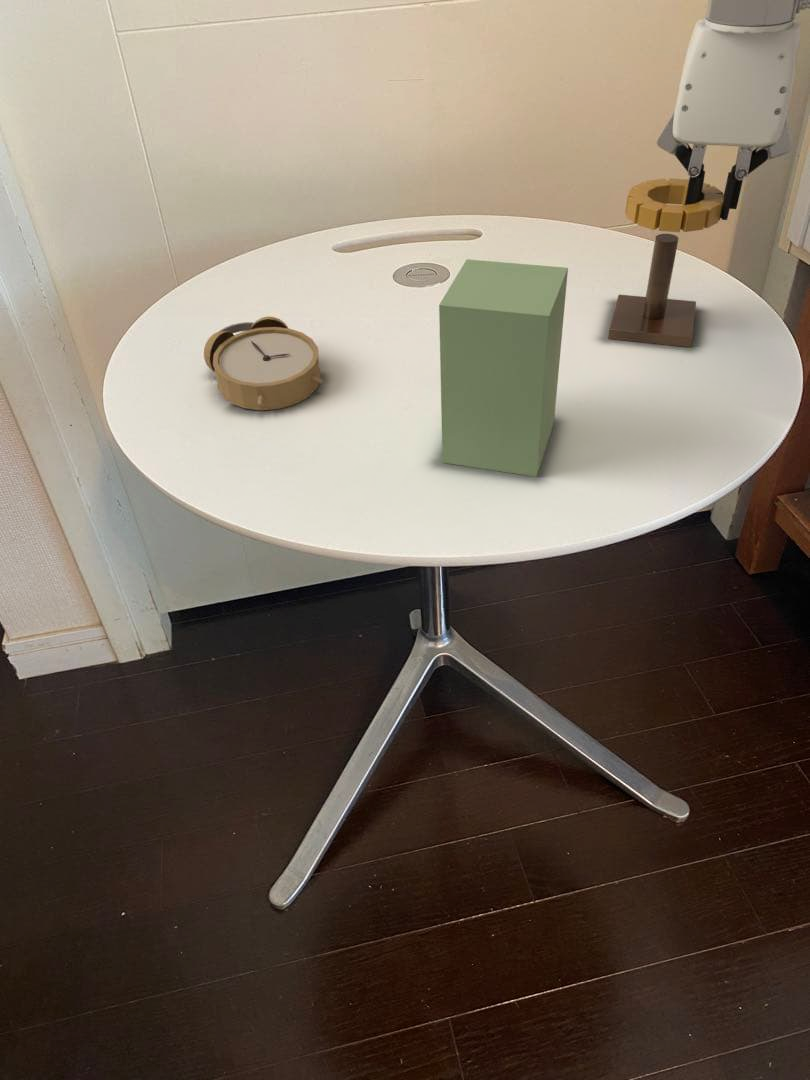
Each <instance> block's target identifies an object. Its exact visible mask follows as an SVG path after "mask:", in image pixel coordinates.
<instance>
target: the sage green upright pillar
mask: <svg viewBox="0 0 810 1080" xmlns="http://www.w3.org/2000/svg"><path fill="white" fill-rule="evenodd" d="M568 272H569V267H564V266H563V267H562V266H553V265H552V266H550V265H542V264H541V265H540V264H539V265H538V264H529V263H528V264H527V263H517V262H516V263H515V262H504V261H494V260H493V261H491V260H480V259H479V260H477V259H469V258H467V259H465V261H464V263H463V264H462V266H461V268H460V270H459V271H458V273H457V275H456V276H455V278H454V279H453V281H452V283H451V284H450V286H449V287H448V290H447V291H446V292H445V294H444V296H443V298H442V300H440V303H439V304H438V316H439V317H438V318H439V319H438V320H439V361H440V362H439V363H440V365H439V366H440V367H439V369H440V370H439V371H440V407H441V408H440V410H441V412H440V413H441V416H440V417H441V455H442V456H441V458H442V459H441V460H442V463H443V464H448V465H449V464H450V465H455V466H461V467H468V468H476V469H482V470H488V471H495V472H501V473H502V472H503V473H508V474H513V475H514V474H515V475H522V476H529V477H535V478H538V475H539V472H540V468H541V465H542V462H543V459H544V456H545V453H546V449H547V446H548V443H549V440H550V437H551V433H552V430H553V428H554V424H555V416H556V406H557V393H558V384H559V382H558V381H559V371H560V361H561V351H562V340H563V328H564V318H565V317H564V316H565V306H566V295H567V294H566V293H567V284H568Z"/></svg>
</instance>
